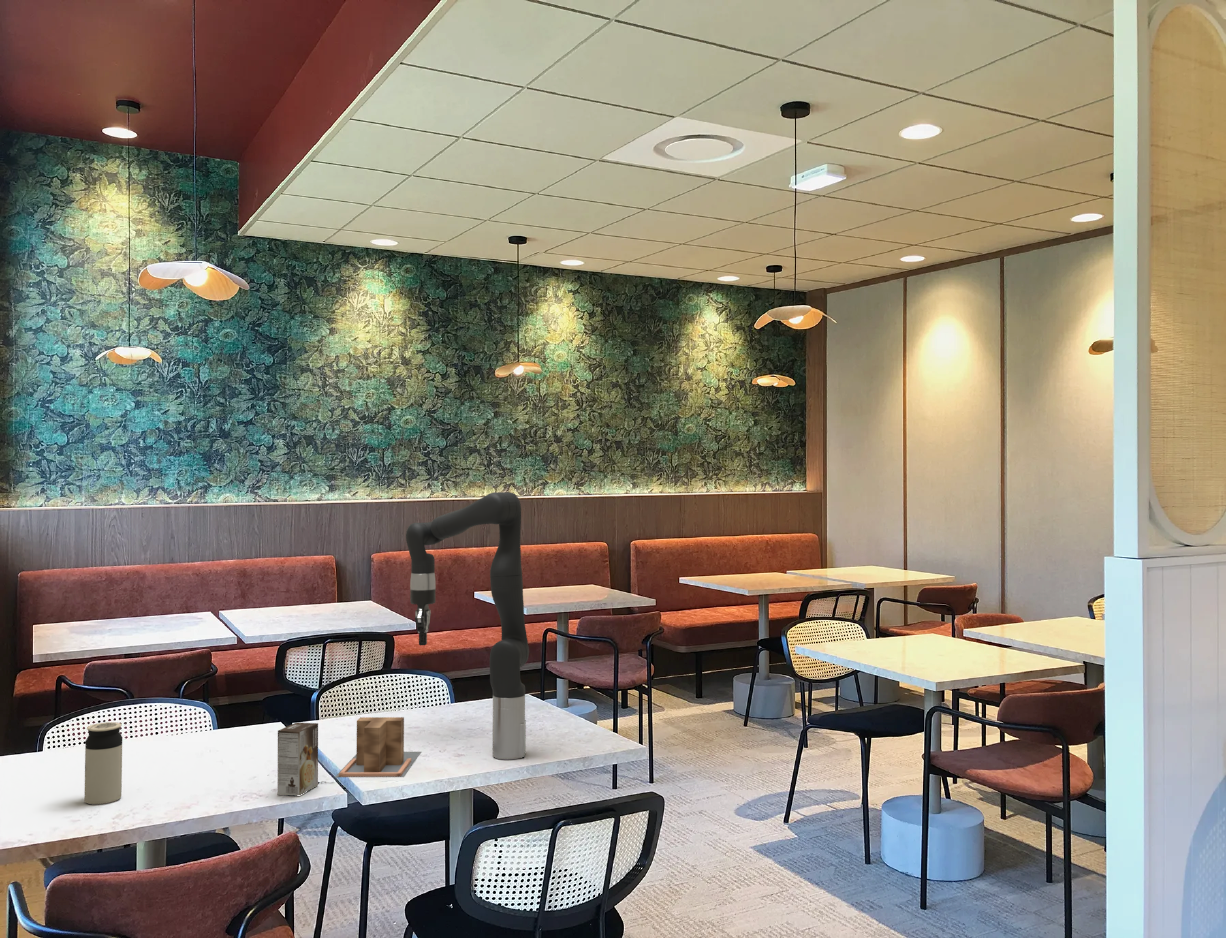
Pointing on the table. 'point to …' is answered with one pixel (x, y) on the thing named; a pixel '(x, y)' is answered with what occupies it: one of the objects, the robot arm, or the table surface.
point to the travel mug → (103, 763)
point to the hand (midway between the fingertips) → (422, 644)
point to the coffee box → (297, 758)
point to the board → (387, 771)
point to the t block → (379, 742)
